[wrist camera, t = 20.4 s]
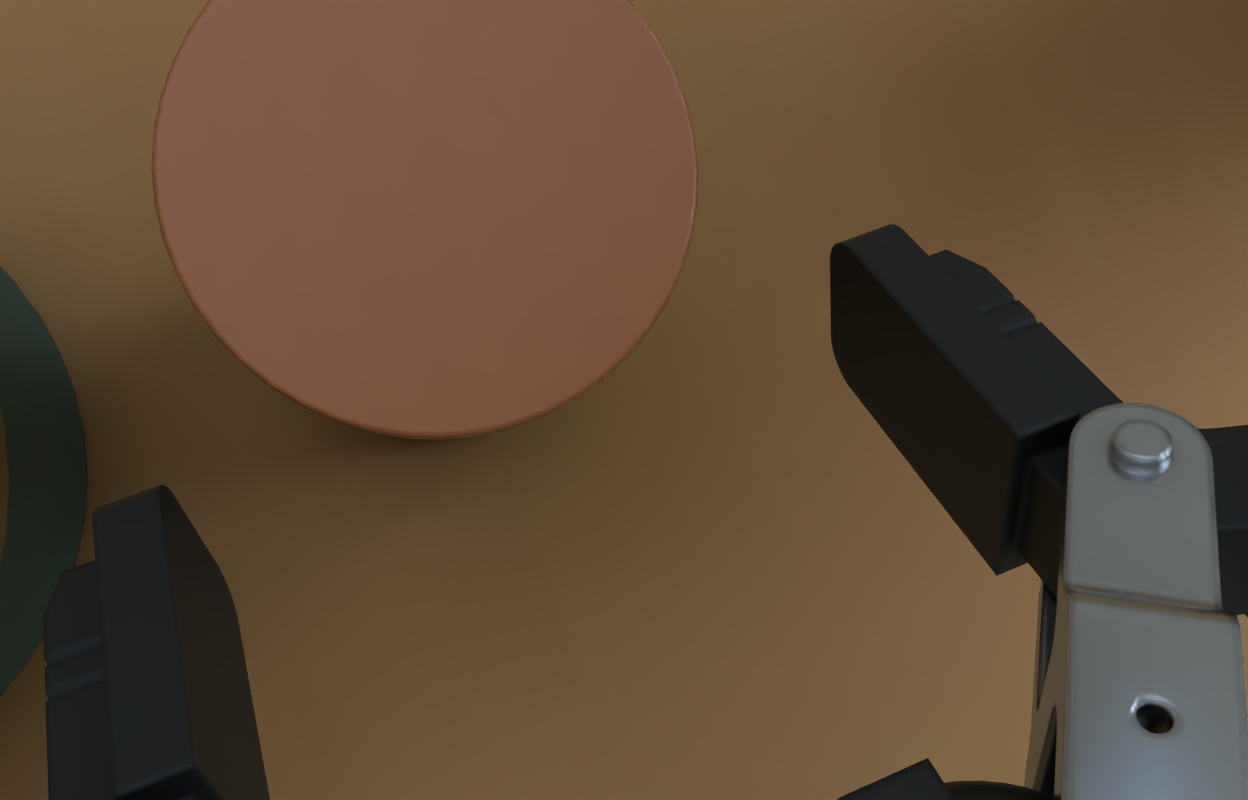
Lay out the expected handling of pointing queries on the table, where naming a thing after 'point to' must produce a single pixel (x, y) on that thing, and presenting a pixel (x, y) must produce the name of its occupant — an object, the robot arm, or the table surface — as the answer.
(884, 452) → the table surface
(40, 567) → the biscuit tin
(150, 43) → the table surface
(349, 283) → the tea tin
